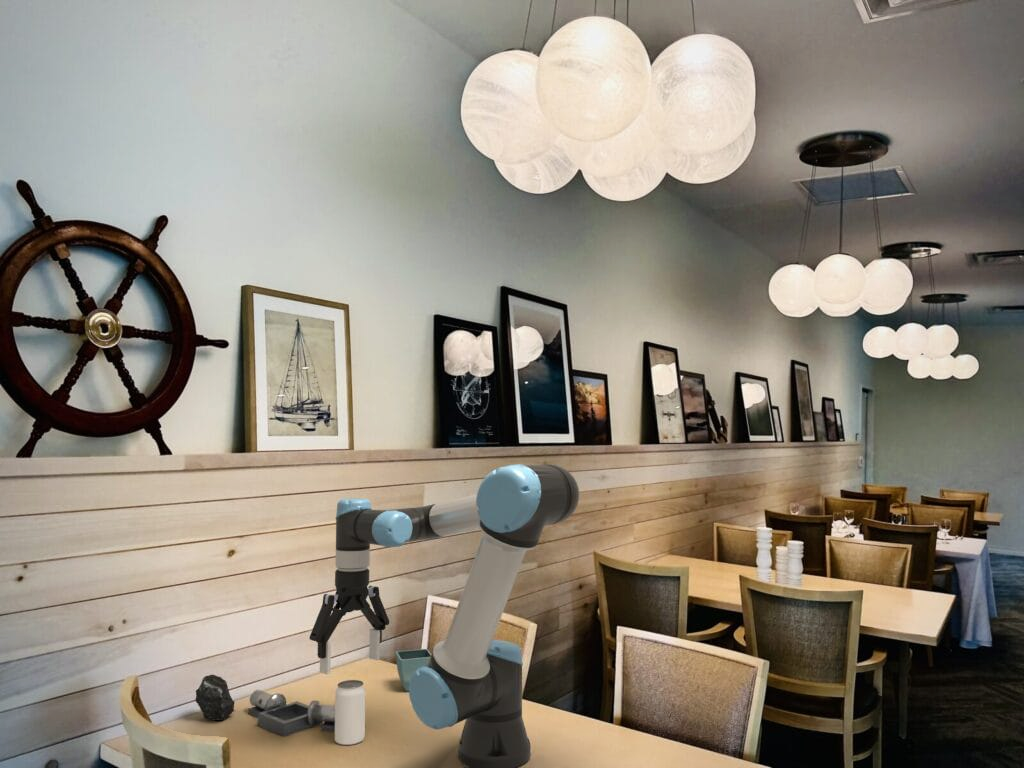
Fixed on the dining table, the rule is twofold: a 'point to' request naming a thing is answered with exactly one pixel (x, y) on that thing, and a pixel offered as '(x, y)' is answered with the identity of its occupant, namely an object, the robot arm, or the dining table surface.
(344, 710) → the can
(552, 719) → the dining table surface
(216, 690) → the rock
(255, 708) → the shaft
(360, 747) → the dining table surface
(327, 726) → the shaft
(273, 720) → the socket
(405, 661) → the flower pot
